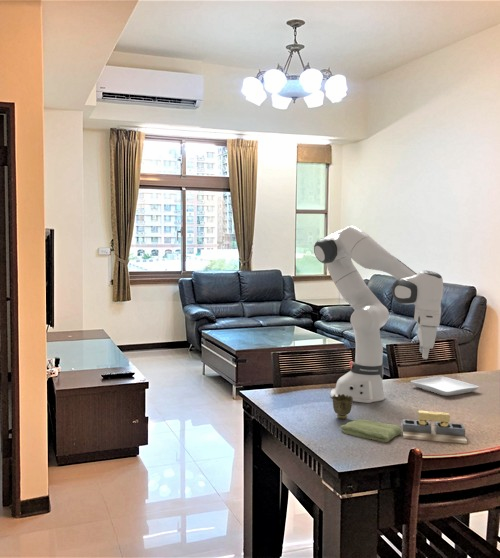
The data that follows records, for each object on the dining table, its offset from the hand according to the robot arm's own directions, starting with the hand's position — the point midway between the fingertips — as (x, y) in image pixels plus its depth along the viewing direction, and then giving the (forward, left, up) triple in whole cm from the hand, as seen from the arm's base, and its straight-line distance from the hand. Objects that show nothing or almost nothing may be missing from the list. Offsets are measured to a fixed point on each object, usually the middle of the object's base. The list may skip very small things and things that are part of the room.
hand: (423, 355), depth 201 cm
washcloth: (-18, -14, -26) cm, 34 cm away
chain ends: (+3, -10, -25) cm, 27 cm away
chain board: (+3, -10, -25) cm, 27 cm away
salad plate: (+14, +51, -26) cm, 58 cm away
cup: (-28, -1, -25) cm, 38 cm away
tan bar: (+3, -10, -24) cm, 26 cm away
